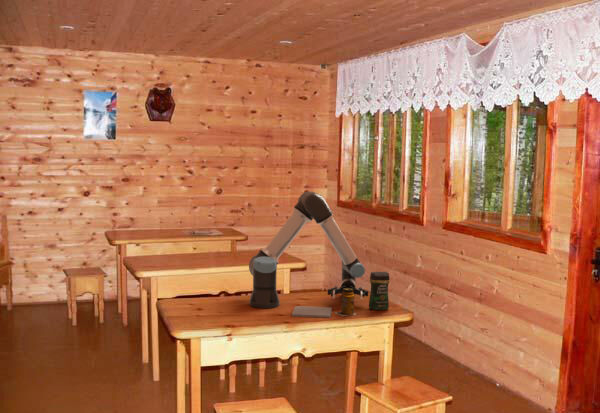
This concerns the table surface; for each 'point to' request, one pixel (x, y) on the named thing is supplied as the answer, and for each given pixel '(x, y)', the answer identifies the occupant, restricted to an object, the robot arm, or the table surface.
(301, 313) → the plain gray board
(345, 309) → the condiment
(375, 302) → the coffee jar
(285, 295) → the table surface
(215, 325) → the table surface
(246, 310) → the table surface
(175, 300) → the table surface
